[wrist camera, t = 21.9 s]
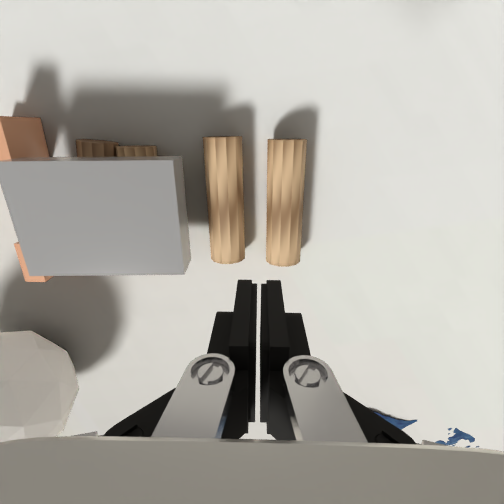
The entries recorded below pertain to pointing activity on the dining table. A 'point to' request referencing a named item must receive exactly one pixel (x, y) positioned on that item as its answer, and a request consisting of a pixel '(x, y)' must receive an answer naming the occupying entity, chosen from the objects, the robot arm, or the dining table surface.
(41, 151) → the block
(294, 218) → the roller
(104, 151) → the roller
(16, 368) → the white faceted ball
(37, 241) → the grey slab
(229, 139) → the roller
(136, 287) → the dining table surface
